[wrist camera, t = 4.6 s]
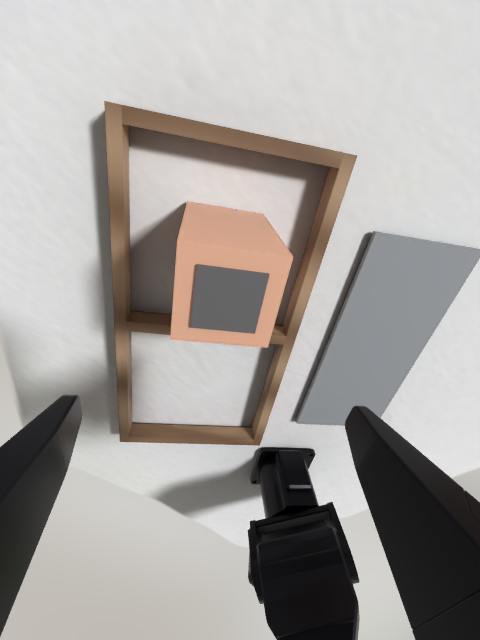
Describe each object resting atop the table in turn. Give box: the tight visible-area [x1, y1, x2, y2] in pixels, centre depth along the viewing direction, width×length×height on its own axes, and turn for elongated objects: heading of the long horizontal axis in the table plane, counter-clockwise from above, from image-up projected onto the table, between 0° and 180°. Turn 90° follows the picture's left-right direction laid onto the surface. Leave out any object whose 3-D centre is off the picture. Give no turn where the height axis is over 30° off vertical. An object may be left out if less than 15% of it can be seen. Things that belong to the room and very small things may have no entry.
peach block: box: [170, 201, 293, 348], centre depth 17 cm, size 5×5×8 cm
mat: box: [296, 231, 480, 425], centre depth 27 cm, size 20×9×1 cm, turn 170°
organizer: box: [104, 101, 357, 445], centre depth 23 cm, size 26×14×2 cm, turn 170°
